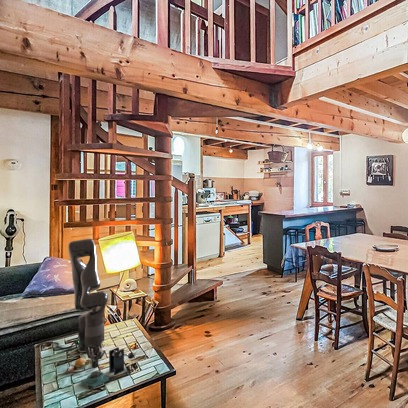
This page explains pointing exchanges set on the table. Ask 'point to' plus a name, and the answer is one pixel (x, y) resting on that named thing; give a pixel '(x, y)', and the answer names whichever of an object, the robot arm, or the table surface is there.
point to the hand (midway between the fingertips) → (94, 367)
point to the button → (95, 374)
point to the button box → (95, 380)
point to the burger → (79, 365)
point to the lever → (130, 355)
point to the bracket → (116, 361)
